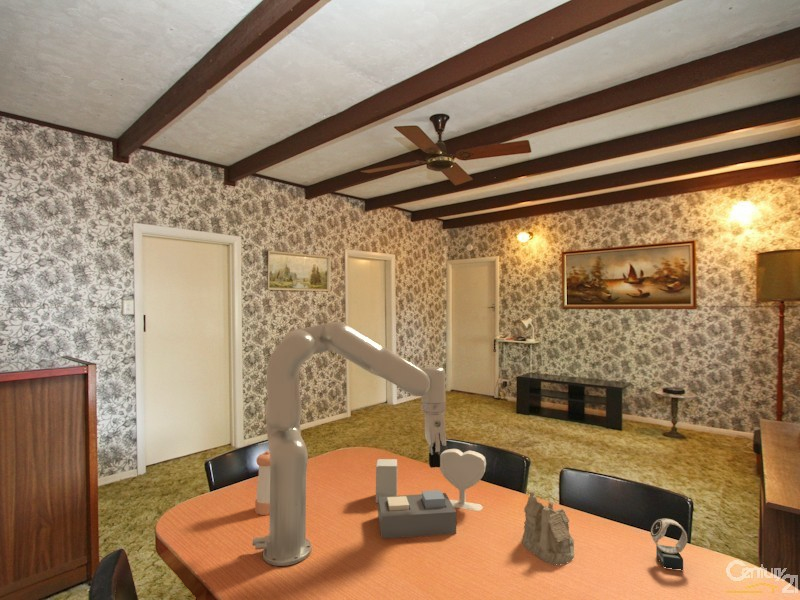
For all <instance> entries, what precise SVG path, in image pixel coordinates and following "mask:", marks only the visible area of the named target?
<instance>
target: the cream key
mask: <svg viewBox="0 0 800 600" xmlns="http://www.w3.org/2000/svg"><path fill="white" fill-rule="evenodd" d="M399 496H400V497H387V508H388V511H398V510H409V503H408V500H407V497H406V496H402V495H399Z"/></svg>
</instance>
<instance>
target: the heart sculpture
mask: <svg viewBox="0 0 800 600" xmlns="http://www.w3.org/2000/svg"><path fill="white" fill-rule="evenodd" d="M486 466H487V460H486V456H484V455H483V454H482V453H480V452H477V451H474V450H469V449H468V450H466V451H464V452H463V451H462V450H460V449H458V448H450V449H445V450H443V451H442V452H440V467H439V470H440V472H441V474H442V476H443V478H445V479H446V480H447V481H448V482H449V483H450V484H451V485H452V486H454V487H455V488H456V489H457V490H459V491H458V492H459V498H458V499H459V500H455V499H449V500H450V502H451V504H452V505H453V507H454V508H457V509H464V510H470V511H475V512H480V511H482V510H483V508H484V507H483V506H482V505H481V504H480V503H473V502H468V501H466V490H467V489H470V488H472V487H474V486H475V485H476V484H478V483H479V482H480V481H481V480H482V478H483V477H484V474H485V472H486V468H487V467H486Z"/></svg>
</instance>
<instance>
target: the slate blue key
mask: <svg viewBox="0 0 800 600" xmlns="http://www.w3.org/2000/svg"><path fill="white" fill-rule="evenodd" d="M442 493H443V492H442V490H441V489H438V490H436V489H435V490H422V491H421V494H422V504H423V506H424V509H430V508H445V498H444V496H443V494H442Z"/></svg>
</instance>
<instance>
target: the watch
mask: <svg viewBox="0 0 800 600" xmlns="http://www.w3.org/2000/svg"><path fill="white" fill-rule="evenodd" d="M670 525H673V526H677V527H678V528H680V530H681V531H682V532H681V535H680V537H679V540H678V541H677V542H676V544H675V546H671V545H670V546H669V545H661V544H659V543H658V542H659V541H660V540H661V539H662V538H664V537H665V535H666V532H667V529H668V527H670ZM650 536H651V538H652V540H653V543H654V544H655V545H656V557H658V558H659V560H660V561H659V560H658V561H659V563H660V562H661V563H662V565H663V566H664V567H666V568H672V569H681V570H683V571H684V558H683V556H682V555H681V554H680V553H682V551H683V550H684V549H685V547H686V546H687V543H688V534H687V531H686V530H685V529H684V527H683V526H682V525H681V524H679V522H677V521H676V520H674V519H670V518H658V519H656V520H655V521H654V522H652V525H651V527H650ZM658 558H657V559H658ZM661 563H660V564H661ZM662 565H661V566H662ZM663 566H662V567H663Z"/></svg>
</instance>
